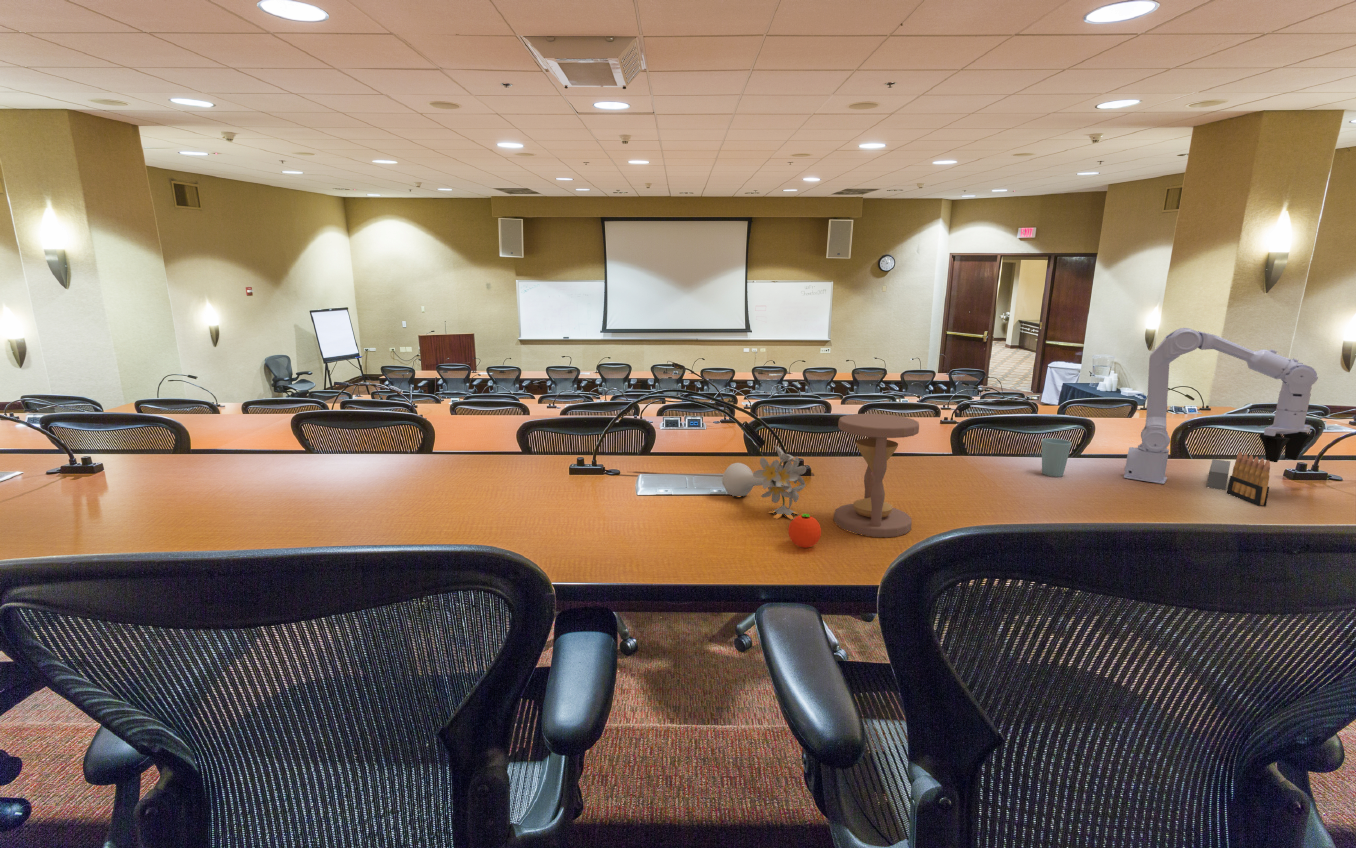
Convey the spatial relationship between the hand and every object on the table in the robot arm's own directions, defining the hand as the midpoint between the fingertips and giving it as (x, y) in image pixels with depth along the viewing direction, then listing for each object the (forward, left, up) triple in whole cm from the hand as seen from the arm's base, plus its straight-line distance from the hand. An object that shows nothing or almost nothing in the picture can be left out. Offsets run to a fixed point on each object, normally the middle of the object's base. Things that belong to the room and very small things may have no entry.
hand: (1281, 460), depth 159 cm
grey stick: (-12, +7, -10) cm, 17 cm away
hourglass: (-71, -92, -10) cm, 117 cm away
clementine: (-76, -114, -10) cm, 137 cm away
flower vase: (-98, -99, -10) cm, 140 cm away
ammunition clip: (-6, -9, -10) cm, 15 cm away
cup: (-49, -16, -10) cm, 52 cm away
